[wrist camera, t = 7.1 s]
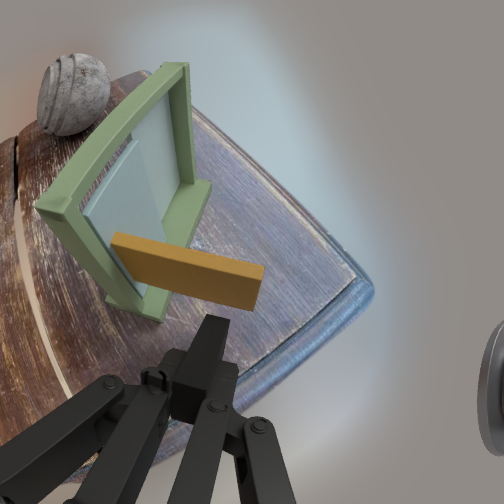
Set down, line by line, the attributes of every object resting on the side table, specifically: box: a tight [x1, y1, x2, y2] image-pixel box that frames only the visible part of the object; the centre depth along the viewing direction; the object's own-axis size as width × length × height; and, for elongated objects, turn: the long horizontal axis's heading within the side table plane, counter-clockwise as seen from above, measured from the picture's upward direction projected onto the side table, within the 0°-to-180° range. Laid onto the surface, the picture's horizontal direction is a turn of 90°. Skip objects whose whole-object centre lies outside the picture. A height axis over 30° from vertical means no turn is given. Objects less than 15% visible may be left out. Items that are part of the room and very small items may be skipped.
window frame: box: [34, 62, 212, 323], centre depth 22 cm, size 6×17×16 cm, turn 168°
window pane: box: [81, 140, 265, 312], centre depth 20 cm, size 10×7×13 cm, turn 78°
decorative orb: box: [37, 54, 110, 136], centre depth 33 cm, size 15×14×15 cm
